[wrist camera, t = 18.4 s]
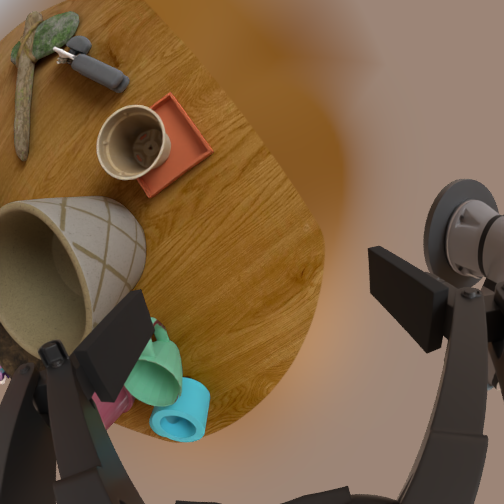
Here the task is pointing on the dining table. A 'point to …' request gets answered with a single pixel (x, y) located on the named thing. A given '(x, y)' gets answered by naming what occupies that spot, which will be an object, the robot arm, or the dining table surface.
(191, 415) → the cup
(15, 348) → the bowl
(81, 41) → the can opener
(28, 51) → the stone axe
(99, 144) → the flower pot
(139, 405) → the dining table surface
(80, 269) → the planter
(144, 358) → the mug
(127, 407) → the flower pot
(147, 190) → the pot tray
